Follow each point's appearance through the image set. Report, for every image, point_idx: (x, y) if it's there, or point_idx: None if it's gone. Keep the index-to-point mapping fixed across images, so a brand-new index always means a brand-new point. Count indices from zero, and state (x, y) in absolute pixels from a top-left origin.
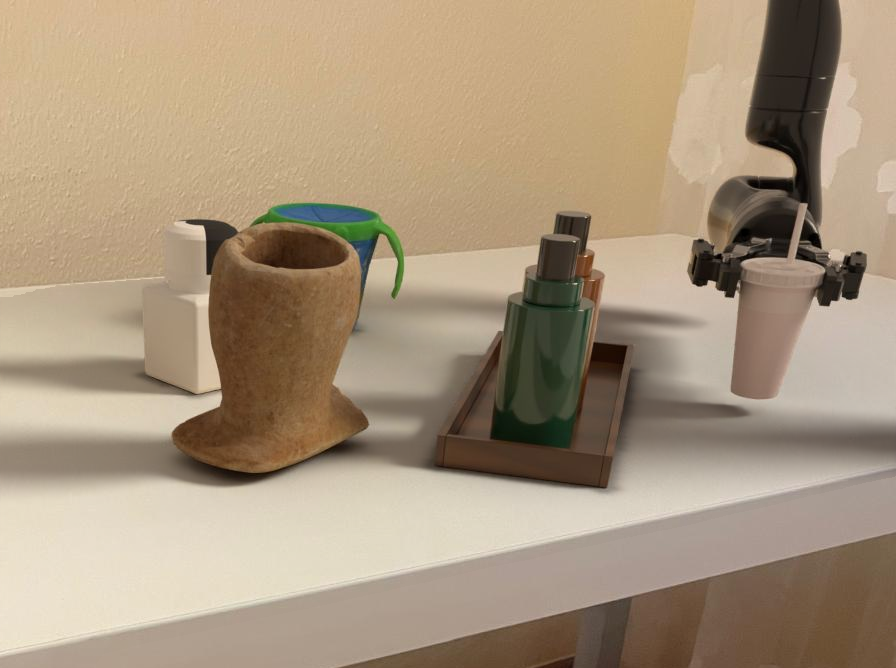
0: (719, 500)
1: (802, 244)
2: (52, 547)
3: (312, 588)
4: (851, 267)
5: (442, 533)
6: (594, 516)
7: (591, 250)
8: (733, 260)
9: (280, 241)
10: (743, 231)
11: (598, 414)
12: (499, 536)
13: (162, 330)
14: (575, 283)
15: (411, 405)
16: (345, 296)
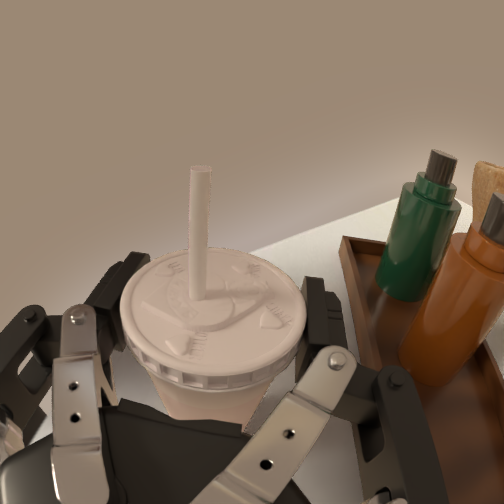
0: (272, 246)
1: (84, 443)
2: (462, 213)
3: (397, 198)
4: (46, 318)
5: (385, 218)
6: (336, 230)
7: (484, 237)
8: (323, 329)
9: None
10: None
11: (381, 348)
12: (366, 217)
13: None
14: (418, 172)
15: (496, 343)
16: (475, 173)
